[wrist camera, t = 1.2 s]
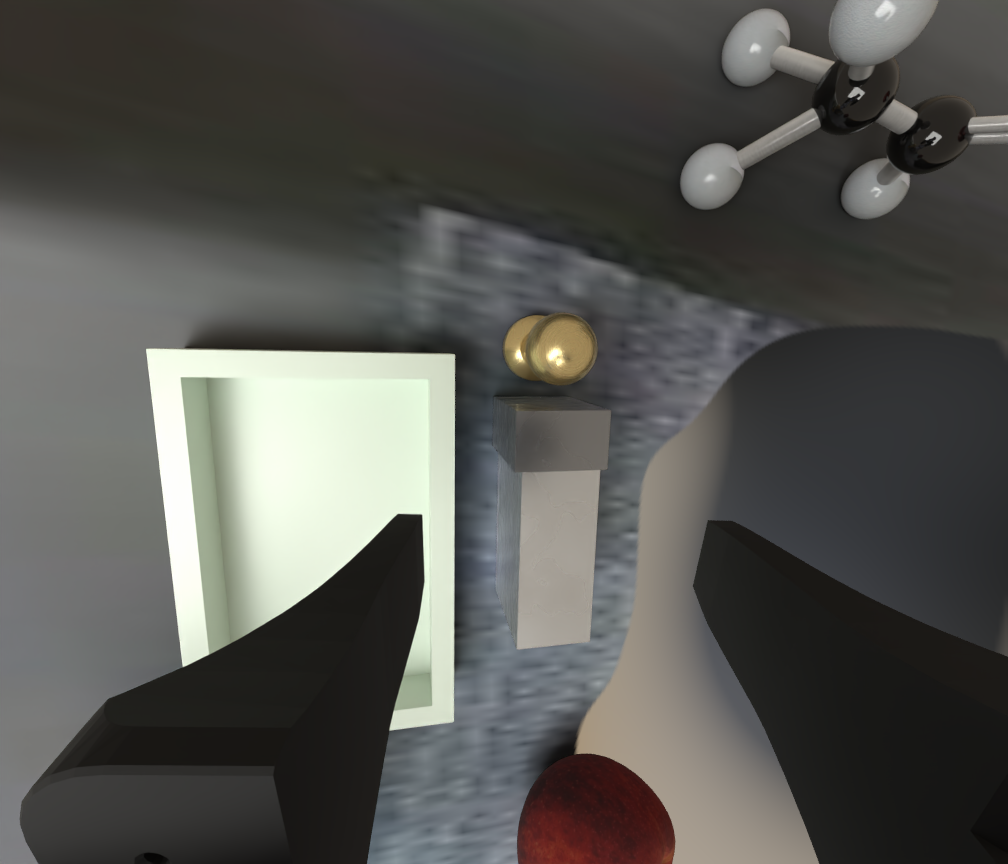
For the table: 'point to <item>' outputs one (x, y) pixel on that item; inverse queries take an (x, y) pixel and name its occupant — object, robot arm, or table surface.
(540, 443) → the strut
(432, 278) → the table surface
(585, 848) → the apple
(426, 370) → the tray
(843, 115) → the molecular model
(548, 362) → the door knob
